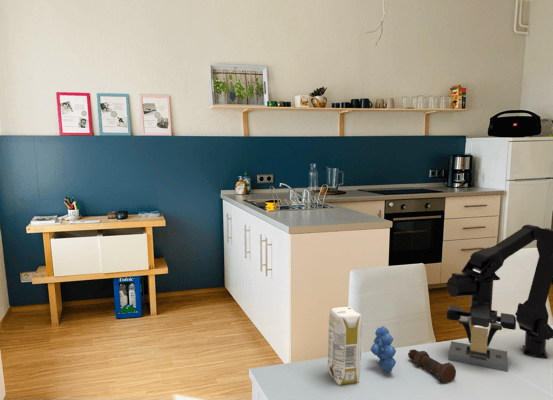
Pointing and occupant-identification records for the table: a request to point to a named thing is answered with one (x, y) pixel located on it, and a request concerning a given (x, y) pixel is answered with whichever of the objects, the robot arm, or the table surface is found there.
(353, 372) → the juice carton
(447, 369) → the bolt
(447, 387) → the table surface
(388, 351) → the grapes
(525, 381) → the table surface
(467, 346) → the grey slotted plate
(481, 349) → the wooden block
